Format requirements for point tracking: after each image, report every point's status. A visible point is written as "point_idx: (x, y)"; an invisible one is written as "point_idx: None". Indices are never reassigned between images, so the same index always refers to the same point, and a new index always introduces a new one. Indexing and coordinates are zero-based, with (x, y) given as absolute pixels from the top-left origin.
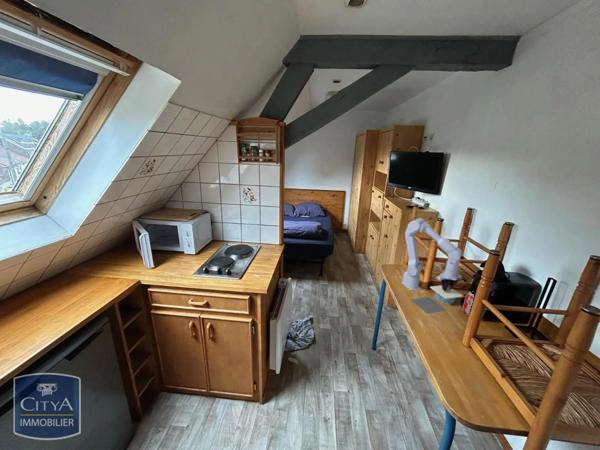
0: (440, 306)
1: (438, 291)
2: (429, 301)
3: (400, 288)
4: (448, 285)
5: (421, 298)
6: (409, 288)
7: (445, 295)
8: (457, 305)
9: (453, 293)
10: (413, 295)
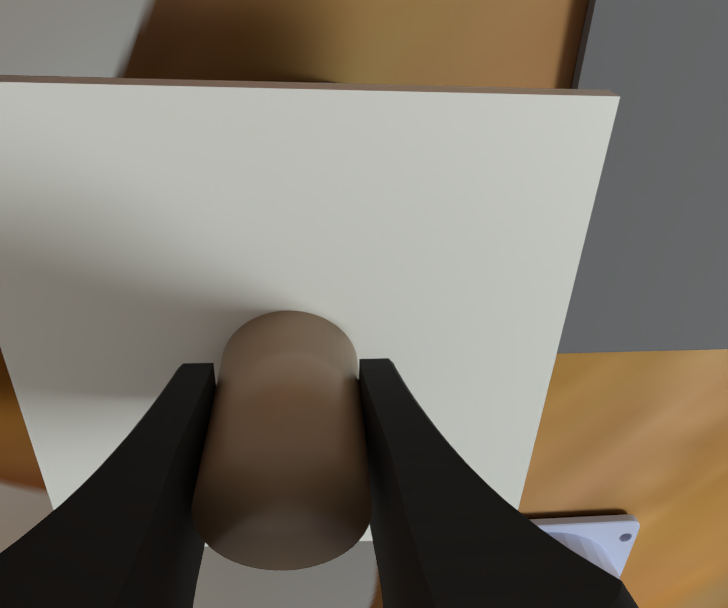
0: (613, 55)
1: (501, 386)
2: (652, 243)
3: (708, 556)
4: (272, 502)
5: (695, 336)
6: (623, 545)
7: (492, 218)
8: (162, 10)
9: (158, 260)
10: (707, 419)
